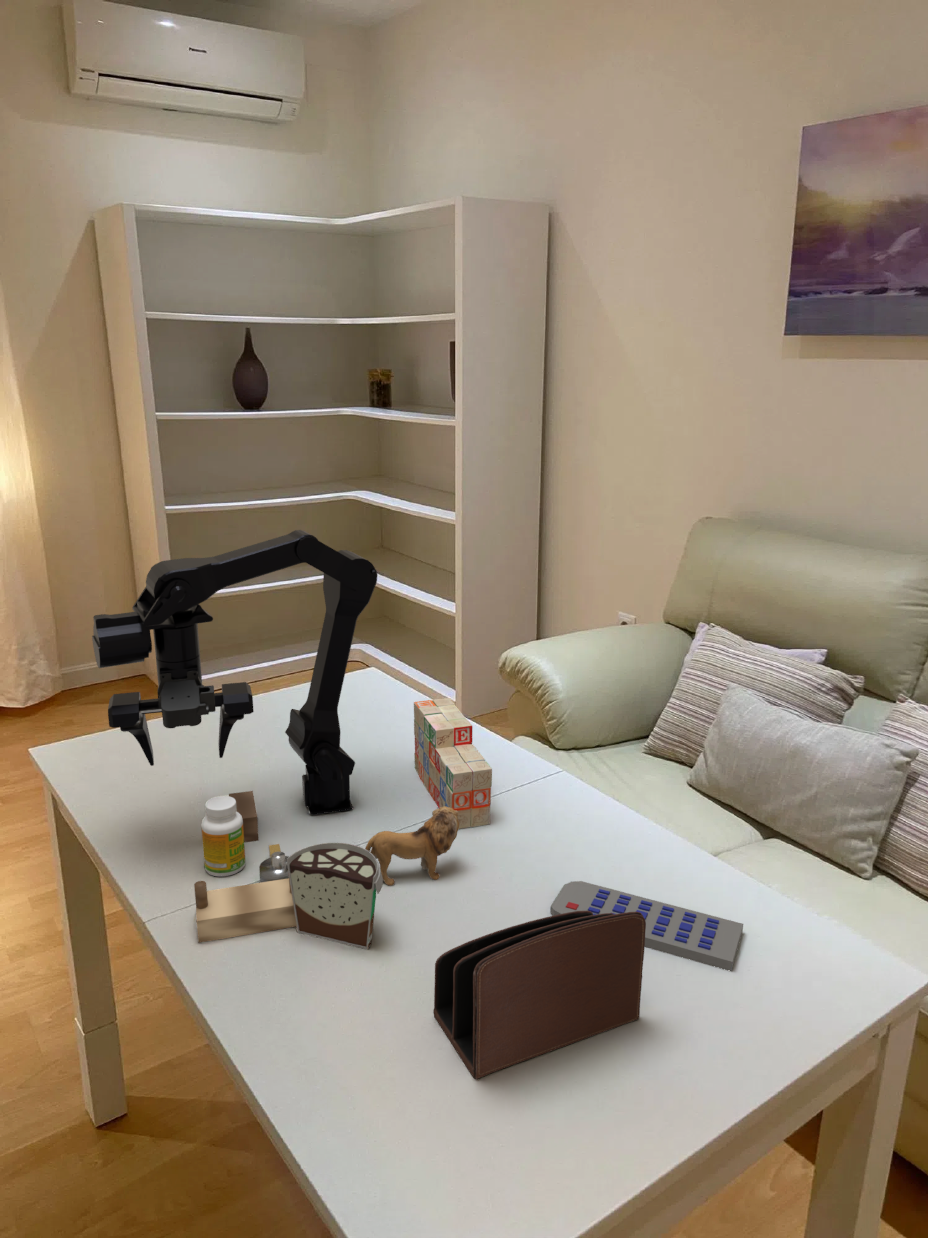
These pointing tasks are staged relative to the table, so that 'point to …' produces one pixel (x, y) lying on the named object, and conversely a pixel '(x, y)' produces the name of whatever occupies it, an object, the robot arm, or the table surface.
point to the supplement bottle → (223, 837)
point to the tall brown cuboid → (247, 814)
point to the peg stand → (243, 909)
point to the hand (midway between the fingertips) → (186, 760)
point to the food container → (335, 892)
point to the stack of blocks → (451, 761)
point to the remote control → (660, 923)
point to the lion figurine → (417, 843)
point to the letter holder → (539, 986)
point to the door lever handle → (273, 865)
